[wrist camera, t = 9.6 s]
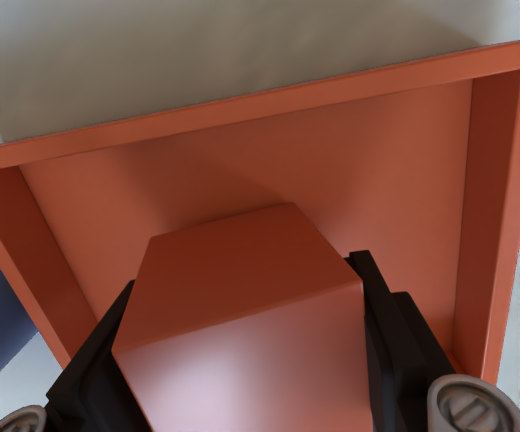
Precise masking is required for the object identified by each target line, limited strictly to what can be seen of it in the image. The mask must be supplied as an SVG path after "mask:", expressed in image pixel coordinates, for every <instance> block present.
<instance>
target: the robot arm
mask: <svg viewBox="0 0 520 432" xmlns="http://www.w3.org/2000/svg"><path fill="white" fill-rule="evenodd" d="M343 259H344V260H345V261H346V262H347V263H348V264H349V266H350V267H351V268H352V269H353V270H354V271H355V272H356V274H357V275H358V276H359V277H360V278H361V279H362V281H363V291H364V306H365V316H364V323H365V338H366V352H367V366H368V381H369V395H370V409H371V413H372V416H373V420H374V424H375V428H376V431H377V432H520V410H519V408H518V407H517V406H516V405H515V404H514V402H513V401H512V400H511V399H510V398H509V397H508V396H507V395H506V394H505V393H503V392H502V391H501V390H499V389H498V388H497V387H496V386H494V385H492V384H490V383H488V382H486V381H484V380H482V379H479V378H476V377H473V376H470V375H464V374H457V373H456V371H455V369H454V368H453V366H452V364H451V363H450V361H449V359H448V358H447V356H446V354H445V353H444V351H443V349H442V348H441V346H440V344H439V343H438V341H437V339H436V337H435V336H434V334H433V332H432V331H431V329H430V327H429V326H428V324H427V322H426V321H425V319H424V317H423V316H422V314H421V312H420V311H419V309H418V307H417V305H416V304H415V302H414V300H413V299H412V297H411V296H410V294H409V293H408V292H407V291H401V292H392V293H391V292H390V290H389V288H388V286H387V284H386V282H385V280H384V278H383V276H382V274H381V272H380V270H379V268H378V266H377V264H376V262H375V260H374V258H373V257H372V255H371V253H370V251H369V250H361V251H353V252H349V257H344V258H343ZM135 280H136V279H134V280H130V281H129V282H128V284H127V285H126V286H125V288H124V289H123V290H122V292H121V293H120V294H119V296H118V297H117V298H116V300H115V301H114V303H113V304H112V305H111V307H110V308H109V309H108V311H107V312H106V313H105V315H104V316H103V317H102V319H101V320H100V322H99V323H98V324H97V326H96V327H95V328H94V330H93V331H92V332H91V334H90V335H89V336H88V338H87V339H86V341H85V342H84V343H83V345H82V346H81V347H80V349H79V350H78V351H77V353H76V354H75V355H74V357H73V358H72V360H71V361H70V362H69V364H68V365H67V366H66V368H65V369H64V370H63V372H62V373H61V374H60V376H59V377H58V379H57V380H56V381H55V383H54V384H53V385H52V387H51V388H50V389H49V391H48V392H47V393H46V397H47V398H48V399H49V402H48V403H47V404H46V406H45V407H44V408H43V407H41V406H40V405H30V406H26V407H22V408H20V409H18V410H16V411H14V412H12V413H10V414H9V415H7V416H6V417H4V418H3V419H1V420H0V432H152V430H151V428H150V426H149V424H148V422H147V420H146V418H145V417H144V415H143V413H142V411H141V409H140V407H139V405H138V403H137V401H136V399H135V397H134V395H133V393H132V391H131V389H130V388H129V386H128V384H127V382H126V380H125V378H124V376H123V374H122V372H121V370H120V368H119V366H118V364H117V362H116V360H115V359H114V357H113V355H112V352H111V351H112V346H113V343H114V340H115V337H116V334H117V332H118V329H119V326H120V323H121V320H122V317H123V314H124V311H125V309H126V306H127V303H128V300H129V297H130V294H131V291H132V288H133V285H134V283H135Z"/></svg>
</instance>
